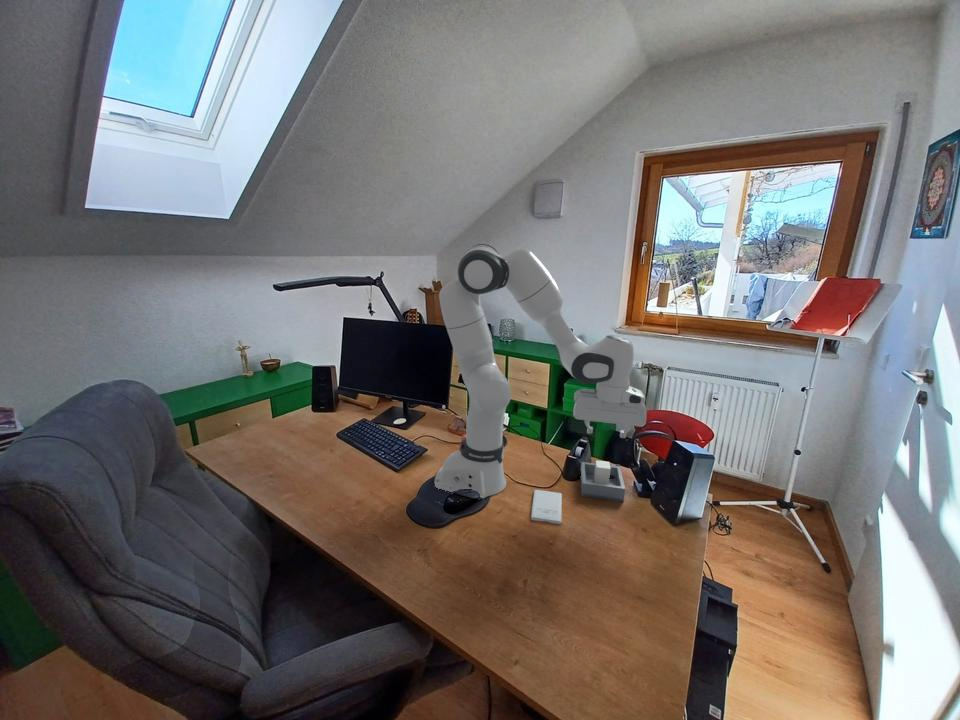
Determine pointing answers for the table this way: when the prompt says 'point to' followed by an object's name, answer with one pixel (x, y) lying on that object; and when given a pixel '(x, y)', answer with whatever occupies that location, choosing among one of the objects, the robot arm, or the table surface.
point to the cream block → (602, 472)
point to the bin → (602, 491)
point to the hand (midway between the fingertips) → (605, 435)
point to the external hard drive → (547, 506)
